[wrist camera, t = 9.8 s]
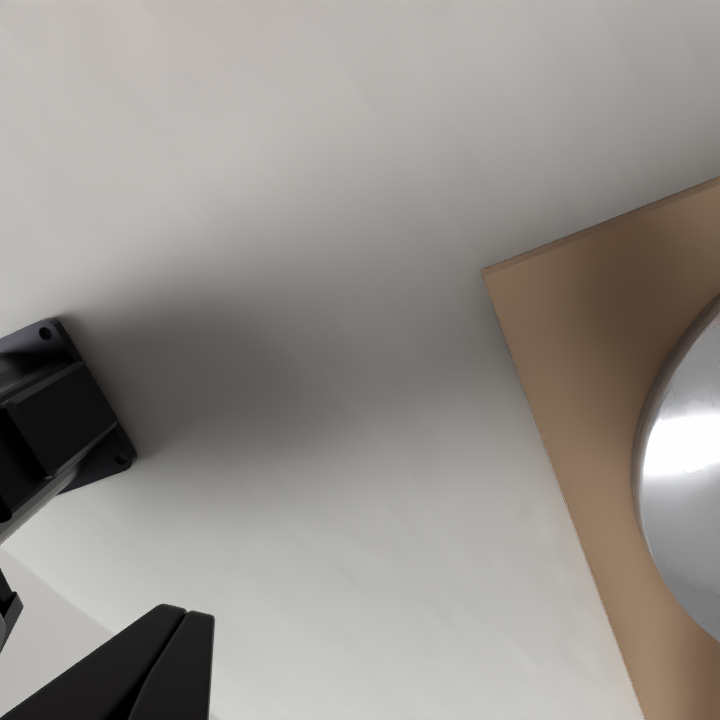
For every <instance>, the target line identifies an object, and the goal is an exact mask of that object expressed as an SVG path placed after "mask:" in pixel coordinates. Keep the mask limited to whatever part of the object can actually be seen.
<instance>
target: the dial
mask: <svg viewBox="0 0 720 720" xmlns="http://www.w3.org/2000/svg"><path fill="white" fill-rule="evenodd" d="M630 487H631V495H632V504H633V511H634V515H635V518H636V522H637V525H638V529H639V532H640V536H641V538H642V540H643V542H644V544H645V546H646V548H647V551H648V553H649V555H650V557H651V559H652V561H653V563H654V564H655V566H656V568H657V570H658V571H659V573H660V575H661V577H662V578H663V580H664V582H665V583H666V585H667V586H668V588H669V589H670V591H671V592H672V594H673V595H674V597H675V598H676V600H677V601H678V603H679V604H680V605H681V607H682V608H683V609H684V610H685V611H686V612H687V613H688V614H689V615H690V616H691V617H692V618H693V619H694V621H695V622H696V623H697V624H698V625H699V626H700V627H701V628H703V629H704V630H705V631H706V632H708V633H709V634H710V635H711V636H713V637H714V638H715V639H716V640H718V641H719V642H720V293H719V294H718V295H717V296H716V297H715V298H714V299H713V300H712V301H710V302H709V303H708V305H707V306H706V307H705V308H704V309H703V310H702V312H701V313H700V314H699V315H698V316H697V317H696V318H695V320H694V321H693V322H692V323H691V324H690V325H689V327H688V328H687V329H686V330H685V331H684V332H683V334H682V335H681V337H680V338H679V340H678V341H677V343H676V344H675V346H674V347H673V349H672V350H671V352H670V353H669V355H668V356H667V358H666V359H665V360H664V362H663V364H662V366H661V368H660V370H659V372H658V374H657V376H656V378H655V380H654V382H653V384H652V386H651V387H650V389H649V391H648V394H647V396H646V399H645V402H644V405H643V408H642V411H641V414H640V417H639V419H638V422H637V426H636V431H635V437H634V442H633V447H632V452H631V470H630Z"/></svg>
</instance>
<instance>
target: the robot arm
mask: <svg viewBox="0 0 720 720" xmlns="http://www.w3.org/2000/svg"><path fill="white" fill-rule="evenodd" d="M46 328H48V329H49V330H50V331H51V333H52V337H50V336H49V335H48V334H47V333H46ZM119 454H122V455H124V456H125V457H126V460H123V459H122V458H121V457H120V455H119ZM136 460H137V453H136V451H135V449H134V447H133V445H132V444H131V442H130V440H129V439H128V437H127V435H126V434H125V432H124V430H123V428H122V427H121V425H120V423H119V422H118V420H117V417H116V415H115V414H114V412H113V410H112V408H111V407H110V405H109V403H108V402H107V400H106V398H105V396H104V395H103V393H102V391H101V390H100V388H99V386H98V384H97V383H96V381H95V379H94V378H93V376H92V374H91V372H90V371H89V369H88V367H87V366H86V365H85V363H84V362H83V360H82V358H81V356H80V355H79V353H78V351H77V350H76V348H75V346H74V344H73V343H72V341H71V339H70V338H69V336H68V334H67V332H66V331H65V329H64V327H63V326H62V325H61V323H60V322H59V321H57V320H55V319H52V318H47V319H43V320H41V321H38V322H36V323H34V324H32V325H30V326H27V327H25V328H23V329H21V330H19V331H16V332H14V333H12V334H10V335H7V336H5V337H3V338H1V339H0V545H1V544H2V543H3V542H4V541H5V540H6V539H7V538H8V537H10V536H11V535H12V534H13V533H14V532H15V531H16V530H17V529H19V528H20V527H21V526H22V525H23V524H24V523H25V522H26V521H28V520H29V519H30V518H31V517H32V516H33V515H34V514H35V513H37V512H38V511H39V510H40V509H41V508H42V507H43V506H44V505H46V504H47V503H48V502H49V501H50V500H51V499H52V498H53V497H54V496H57V495H59V494H62V493H65V492H68V491H70V490H73V489H76V488H79V487H81V486H84V485H87V484H90V483H92V482H95V481H98V480H101V479H103V478H106V477H109V476H112V475H114V474H117V473H120V472H123V471H125V470H127V469H129V468H130V467H131V466H132V465H133V464H134V463H135V462H136ZM22 609H23V604H22V602H21V600H20V598H19V596H18V594H17V592H12V591H11V588H10V587H9V584H8V582H7V580H6V578H5V577H4V575H3V573H2V571H1V569H0V653H1V651H2V649H3V647H4V645H5V643H6V641H7V639H8V637H9V635H10V633H11V631H12V629H13V627H14V625H15V623H16V621H17V619H18V617H19V615H20V613H21V611H22ZM214 629H215V618H214V616H213V615H210V614H205V613H201V612H197V611H189V612H188V613H187V611H186V609H184V608H180V607H176V606H172V605H168V604H160V605H158V606H156V607H155V608H153V609H152V610H151V611H149V612H148V613H146V614H145V615H144V616H142V617H141V618H139V619H138V620H137V621H135V622H134V623H132V624H131V625H130V626H128V627H127V628H125V629H124V630H123V631H121V632H120V633H118V634H117V635H116V636H114V637H113V638H111V639H110V640H109V641H107V642H106V643H104V644H103V645H102V646H100V647H99V648H97V649H96V650H94V651H93V652H92V653H90V654H89V655H88V656H86V657H85V658H83V659H82V660H80V661H79V662H78V663H76V664H75V665H73V666H72V667H71V668H69V669H68V670H66V671H65V672H64V673H62V674H61V675H60V676H58V677H57V678H55V679H54V680H52V681H51V682H50V683H48V684H47V685H45V686H44V687H43V688H41V689H40V690H39V691H37V692H36V693H34V694H33V695H31V696H30V697H29V698H27V699H26V700H24V701H23V702H22V703H20V704H19V705H17V706H16V707H15V708H13V709H12V710H11V711H9V712H8V713H6V714H5V715H3V716H2V717H1V718H0V720H209V706H210V691H211V675H212V660H213V644H214Z"/></svg>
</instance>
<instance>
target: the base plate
mask: <svg viewBox="0 0 720 720" xmlns="http://www.w3.org/2000/svg"><path fill="white" fill-rule="evenodd" d="M480 272H481V274H482V277H483V280H484V283H485V285H486V288H487V291H488V294H489V296H490V299H491V302H492V304H493V307H494V310H495V313H496V315H497V318H498V321H499V323H500V326H501V329H502V332H503V334H504V337H505V340H506V343H507V345H508V348H509V351H510V353H511V356H512V359H513V362H514V364H515V367H516V370H517V373H518V375H519V378H520V381H521V383H522V386H523V389H524V392H525V394H526V397H527V400H528V402H529V405H530V408H531V411H532V413H533V416H534V419H535V422H536V424H537V427H538V430H539V432H540V435H541V438H542V441H543V443H544V446H545V449H546V452H547V454H548V457H549V460H550V462H551V465H552V468H553V471H554V473H555V476H556V479H557V481H558V484H559V487H560V490H561V492H562V495H563V498H564V501H565V503H566V506H567V509H568V511H569V514H570V517H571V520H572V522H573V525H574V528H575V530H576V533H577V536H578V539H579V541H580V544H581V547H582V550H583V552H584V555H585V558H586V560H587V563H588V566H589V569H590V571H591V574H592V577H593V580H594V582H595V585H596V588H597V590H598V593H599V596H600V599H601V601H602V604H603V607H604V609H605V612H606V615H607V618H608V620H609V623H610V626H611V629H612V631H613V634H614V637H615V639H616V642H617V645H618V648H619V650H620V653H621V656H622V658H623V661H624V664H625V667H626V669H627V672H628V675H629V678H630V680H631V683H632V686H633V688H634V691H635V694H636V697H637V699H638V702H639V705H640V708H641V710H642V713H643V716H644V718H645V720H720V642H719V641H718V640H716V639H715V638H714V637H713V636H711V635H710V634H709V633H708V632H706V631H705V630H704V629H703V628H701V627H700V626H699V625H698V624H697V623H696V622H695V621H694V619H693V618H692V617H691V616H690V615H689V614H688V613H687V612H686V611H685V610H684V609H683V608H682V607H681V605H680V604H679V603H678V601H677V600H676V598H675V597H674V595H673V594H672V592H671V591H670V589H669V588H668V586H667V585H666V583H665V582H664V580H663V578H662V577H661V575H660V573H659V571H658V570H657V568H656V566H655V564H654V563H653V561H652V559H651V557H650V555H649V553H648V551H647V548H646V546H645V544H644V542H643V540H642V538H641V536H640V532H639V529H638V525H637V522H636V518H635V515H634V511H633V504H632V495H631V487H630V470H631V452H632V447H633V442H634V437H635V431H636V426H637V422H638V419H639V417H640V414H641V411H642V408H643V405H644V402H645V399H646V396H647V394H648V391H649V389H650V387H651V386H652V384H653V382H654V380H655V378H656V376H657V374H658V372H659V370H660V368H661V366H662V364H663V362H664V360H665V359H666V358H667V356H668V355H669V353H670V352H671V350H672V349H673V347H674V346H675V344H676V343H677V341H678V340H679V338H680V337H681V335H682V334H683V332H684V331H685V330H686V329H687V328H688V327H689V325H690V324H691V323H692V322H693V321H694V320H695V318H696V317H697V316H698V315H699V314H700V313H701V312H702V310H703V309H704V308H705V307H706V306H707V305H708V303H709V302H710V301H712V300H713V299H714V298H715V297H716V296H717V295H718V294H719V293H720V176H719V177H717V178H714V179H712V180H709V181H707V182H704V183H702V184H699V185H696V186H694V187H691V188H689V189H686V190H684V191H681V192H679V193H676V194H674V195H671V196H668V197H666V198H663V199H661V200H658V201H656V202H653V203H651V204H648V205H646V206H643V207H640V208H638V209H635V210H633V211H630V212H628V213H625V214H623V215H620V216H618V217H615V218H612V219H610V220H607V221H605V222H602V223H600V224H597V225H595V226H592V227H589V228H587V229H584V230H582V231H579V232H577V233H574V234H572V235H569V236H567V237H564V238H561V239H559V240H556V241H554V242H551V243H549V244H546V245H544V246H541V247H539V248H536V249H533V250H531V251H528V252H526V253H523V254H521V255H518V256H516V257H513V258H511V259H508V260H505V261H503V262H500V263H498V264H495V265H493V266H490V267H488V268H485V269H483V270H480Z"/></svg>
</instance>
